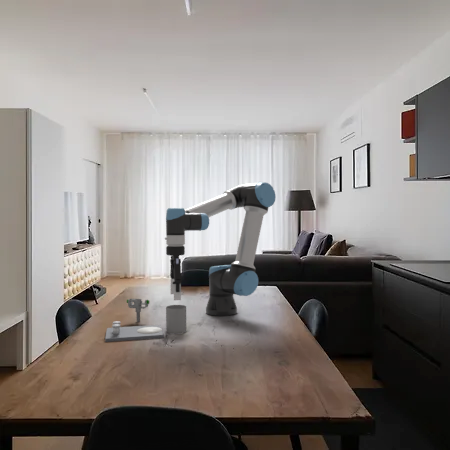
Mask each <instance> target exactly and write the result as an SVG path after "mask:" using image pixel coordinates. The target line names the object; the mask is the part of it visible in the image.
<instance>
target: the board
mask: <svg viewBox="0 0 450 450" xmlns="http://www.w3.org/2000/svg"><path fill="white" fill-rule="evenodd" d="M164 336H165V335H164V333H163V329H162V326H161V324H151V325H134V326H133V325H132V326H121V321H120V320H119V321H117V320H116V321H115V320H114V321H113V322H112V324H111V327H107V328H106V332H105V338H104V342H105V343H107V342H111V343H112V342H121V341H123V342H124V341H137V340H139V341H141V340H152V339H164Z"/></svg>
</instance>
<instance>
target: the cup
mask: <svg viewBox="0 0 450 450" xmlns="http://www.w3.org/2000/svg"><path fill="white" fill-rule="evenodd" d="M165 331H166V333H167V334H170V335H172V334H173V335H176V334H177V335H178V334H185V333H186V332H187V306H186V305H184V304H172V305H170V304H169V305H167V306H165Z"/></svg>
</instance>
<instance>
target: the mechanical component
mask: <svg viewBox="0 0 450 450" xmlns="http://www.w3.org/2000/svg"><path fill="white" fill-rule="evenodd" d="M126 303H127V307H128V308H130V309H135V310H134V312H136V314H135V315H136V322H138V323H139V322H141V312H142V309H147V308H148V307H149V304H150V300H149V299H145V300H144V302H143V301H142V298H129V299H126ZM143 305H144V306H143Z"/></svg>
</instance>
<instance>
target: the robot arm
mask: <svg viewBox="0 0 450 450" xmlns="http://www.w3.org/2000/svg"><path fill="white" fill-rule="evenodd" d="M275 202H276V191H275V190H274V187H273V186H272V185H271V184H270V183H268V182H263V181H258V182H248V183H242V184H241V183H240V184H239V185H236V186H235V187H232V188H230V189H227V190H225V191H223V193H222V194H221V195H218V196H214V197H213V198H211V199H209V200H206V201H203V202H201V203H198V204H196V205H193V206H192V207H188V208H186V209H185V208H183V207H169V208H167V210H166V216H165V222H166V223H165V226H166V228H165V229H166V233H165V235H166V237H164V240H166V241H165V242H166V243H165V244H166V245H167V246H166V247H165V250H166V252H165V253H166V255H167V256H170V259H169V262H170V273H169V276H170V277H169V278H170V295H173V301H181V300H182V282H183V281H182V269H181V268H182V266H181V264H182V263H181V262H182V261H181V260H182V259H181V258H180V256H184V255H185V253H186V250H185V248H186V247H185V244H186V239H185V238H186V235H185V234H186V232H189V231H190V232H191V231H199V232H200V231H206V230H207V229H208V228H209V227H210V218H212V217H213V216H215V215H218V214H220V213H222V212H224V211H227V210H231V211H232V210H234V209H238V208H243V209H244V211H245V214H244V219H243V224H242V229H241V233H240V238H239V242H238V246H237V250H236V251H237V252H236V257H235V261H233V262H231V264H224V265H214V266H213V265H212V266H210V267H209V271H208V278H209V279H208V281H209V282H208V283H209V284H208V285H209V286H208V289H209V297H208V301H207V304H206V307H205V314H207V315H209V316H215V317H216V316H218V317H224V316H226V317H227V316H232V315H233V316H234V315H236V314H237V313H238V308H237V304H236V301H235V298H234V295H237V296H240V297H247V296H250V295H252V294H253V293H255V291H256V290H257V287H258V286H259V277H258V274H257V273H256V267H255V265H254V262H255V258H256V253H257V249H258V243H259V240H260V233H261V229H262V224H263V221H264V220H263V219H264V216H265V215H266V214H268V211H269V208H270V207H272V206H273V205H275Z"/></svg>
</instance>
